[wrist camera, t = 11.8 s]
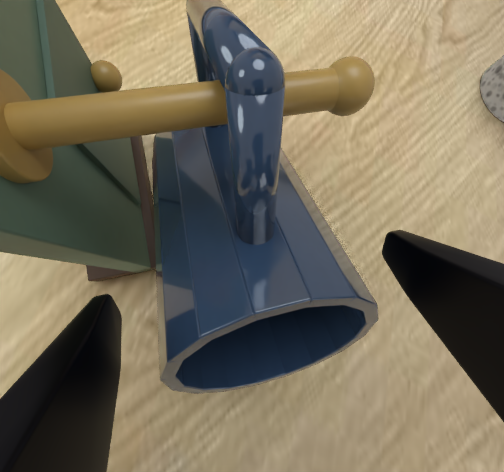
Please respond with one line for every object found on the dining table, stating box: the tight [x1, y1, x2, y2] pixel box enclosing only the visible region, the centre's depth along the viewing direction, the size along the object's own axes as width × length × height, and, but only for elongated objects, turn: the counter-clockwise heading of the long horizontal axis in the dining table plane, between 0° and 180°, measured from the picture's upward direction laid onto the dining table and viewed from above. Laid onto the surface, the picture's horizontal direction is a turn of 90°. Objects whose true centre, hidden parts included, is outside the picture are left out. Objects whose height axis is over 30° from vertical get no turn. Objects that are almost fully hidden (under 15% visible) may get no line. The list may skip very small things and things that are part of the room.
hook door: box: [0, 0, 375, 281], centre depth 12 cm, size 10×13×16 cm
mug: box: [152, 0, 379, 394], centre depth 11 cm, size 12×7×12 cm
